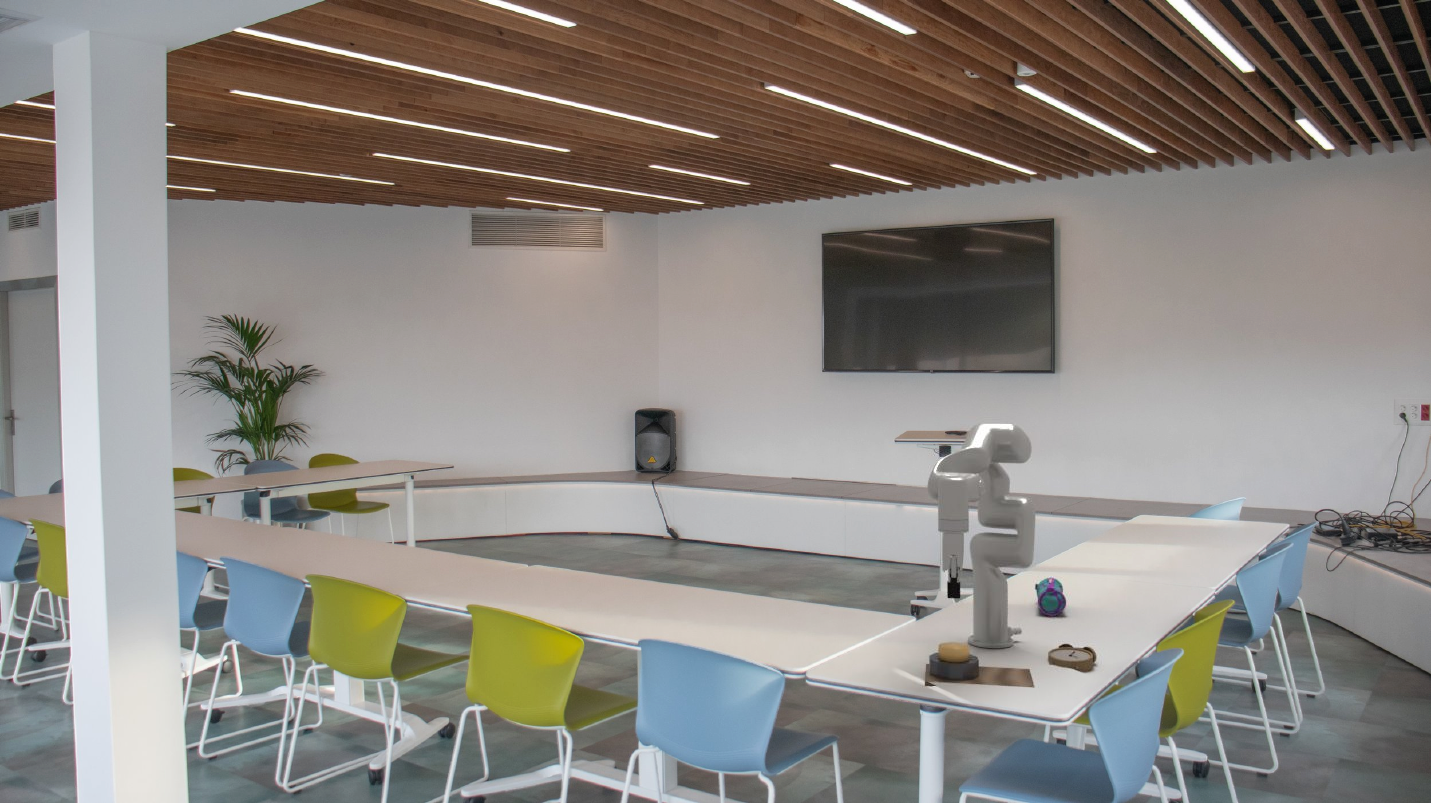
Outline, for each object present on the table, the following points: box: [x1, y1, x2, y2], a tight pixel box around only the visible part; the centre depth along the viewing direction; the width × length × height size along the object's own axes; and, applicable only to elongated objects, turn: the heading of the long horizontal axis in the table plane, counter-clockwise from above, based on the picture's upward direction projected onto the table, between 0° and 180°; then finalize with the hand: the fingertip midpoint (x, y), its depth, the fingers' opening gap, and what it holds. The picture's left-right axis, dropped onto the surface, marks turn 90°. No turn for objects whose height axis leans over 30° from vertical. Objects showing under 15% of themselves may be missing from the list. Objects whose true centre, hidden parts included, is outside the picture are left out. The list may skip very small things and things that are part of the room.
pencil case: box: [1034, 576, 1067, 617], centre depth 338 cm, size 21×9×10 cm, turn 165°
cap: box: [937, 641, 970, 662], centre depth 263 cm, size 8×8×7 cm
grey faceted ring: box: [928, 652, 980, 681], centre depth 263 cm, size 12×12×4 cm
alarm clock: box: [1047, 643, 1097, 673], centre depth 275 cm, size 11×5×15 cm
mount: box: [924, 663, 1035, 688], centre depth 262 cm, size 26×16×1 cm, turn 77°
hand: (953, 597), depth 263 cm, fingers closed
